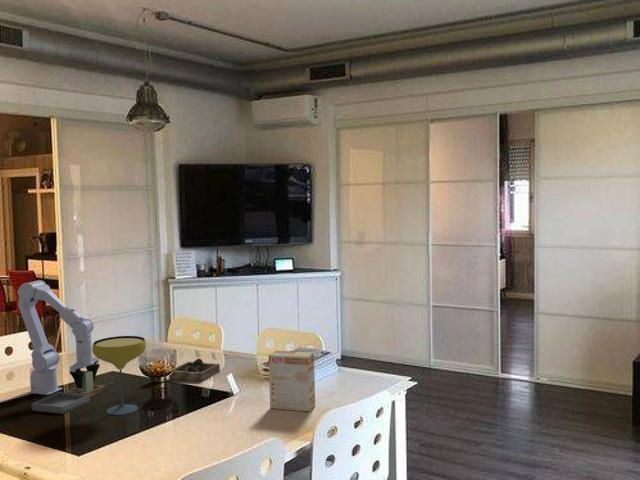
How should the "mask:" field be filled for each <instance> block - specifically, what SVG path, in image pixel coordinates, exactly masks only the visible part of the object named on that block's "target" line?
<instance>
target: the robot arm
mask: <svg viewBox="0 0 640 480" xmlns="http://www.w3.org/2000/svg"><path fill="white" fill-rule="evenodd" d="M16 292H17V295H18V309H19V312H20V314H21V317H22V320H23V322H24V325H25V329H26V331H27V334H28V337H29V339H30V342H31V344H32V348H33V349H32V352H31V354H30V355H31V359H32V360H31V361H32V362H31V365H32V368H33V370H32V371H31V373H30V375H29V378H30V379H29V380H30V385H29V386H30V391H29V394H36V395H37V394H38V395H45V396H50V395H53V394H55V393H57V392H60V391H61V390H63V387H58V378H57V377H58V376H57V365H58V363H59V362H60V355H59V353H58V352H57V350H55V347H54V346H53V345H52V344H50V343H49V342H48V339H47V337H46V334H45V331H44V328H43V325H42V322H41V320H40V317H39V315H38V312H37V309H36V304H37V303H38V301H44V302H45V303H47V305H49V306H50V307H52V308H53V309H54V310H56V311H57V313H59V318H60V320H62V321H63V322H64V323H65V324H67V325H68V326H69V327H70V328H71V333H72V334H73V335H74V338H75V351H76V353H75V354H76V355H75V356H76V362H75V363H74V364H73V365H70V366H69V374H70V376H71V377H72V379H73V382H74V383H75V384H74V385H75V387H77V388H82V386H83V375H84V372H85V371H92V372H93V384H94V383H96V382H95V381H96V377H97V373H98V370H99V369H100V363H99V362H100V359H99V358H97V357H93V350H92V347H93V343H92V332H93V331H94V324H93V322H92V320H91V319H89V318H85V317H84V316H83V315H81V314H80V313H79V312H77V309H76V308H75V307H72V306H66V305H65V303H63V301H62V300H61V299H60V298H59V297H58V296H57V295H56V294H55V293H54V292H53V291H52V290H51V287H50V285H48V284H46V282H45V281H44V280H41V279H38V280H35V281H30V282H24V283H22V284H21V285H20V286H19V287H18V290H17V291H16ZM84 368H85V369H86V370H82V369H84Z"/></svg>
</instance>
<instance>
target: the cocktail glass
mask: <svg viewBox="0 0 640 480" xmlns="http://www.w3.org/2000/svg"><path fill="white" fill-rule="evenodd" d="M146 347H147V342H146V339H145V338H144V337H142V336H137V335H120V336H119V335H118V336H110V337H105V338H101V339H98V340H95V341H94V342H93V343H92V355H94V357H95V358H99V360H101V361H104V362H106V363H109V364H112V365H113V366H114V367H115V368H116V369H117V370H119V384H120V385H119V386H120V388H119V389H120V400H119V401H120V402H119V404H118V405H114V406H111V407H109V408H108V409H106V414H107V415H110V416H124V415H129V414H133V413H135V412H136V411H138V409H139V407H138V406H137V405H135V404H125V402H124V394H123V381H122V380H123V379H122V378H123V374H122V370H123V369H125V367H126V365H127V364H128V363H129V362H131V361H133V360H135V359H136V358H138V357H140V356H141V355H142V354H143V353H144V352H145V350H146Z"/></svg>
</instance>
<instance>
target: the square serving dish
mask: <svg viewBox="0 0 640 480" xmlns="http://www.w3.org/2000/svg"><path fill="white" fill-rule="evenodd" d="M193 362H194V361H187V362H185V363H183V364H180V365H179V366H177V367H175V370H174V371H173V373H172V374H171V375H169V374H168V378H169V380H171V379H175V380H174V381H186V382H195V383H196V382H198V383H203V382H205V381H206V380H208V379H210V378H212V377H214V376H215V375H217V374H219V373H220V372H221V370H220V369H221V368H220V366H221V365H220V363H211V362H210V363H209V362H203V364H202V366H200V369H199V368H197V369H199V370H198V372H199V373H198V372H186V371H185V368H186V367H187V366H191V367H192V365H193Z"/></svg>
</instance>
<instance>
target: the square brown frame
mask: <svg viewBox="0 0 640 480" xmlns="http://www.w3.org/2000/svg"><path fill="white" fill-rule="evenodd" d="M93 389H94V390H92V391H90V392H88V393H86V392H78V388H77V387H76V386H75V387H74V388H73V387H72V388H71V389H69V390H66V391H65V393H74V394H84V395H90V398H91V397H93V396H95V395H97V394H99V393H101V392H103V391H105V390H106V389H107V388H106V385H99V384H93Z"/></svg>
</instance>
